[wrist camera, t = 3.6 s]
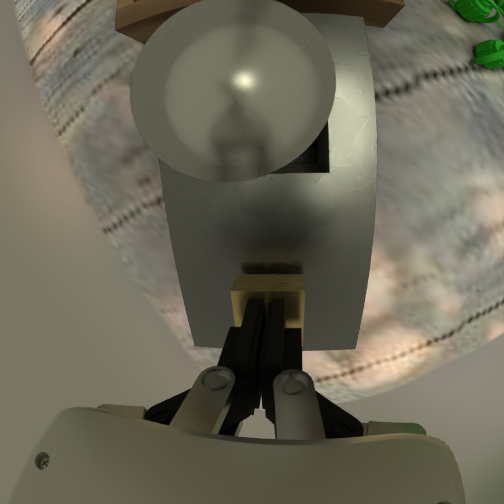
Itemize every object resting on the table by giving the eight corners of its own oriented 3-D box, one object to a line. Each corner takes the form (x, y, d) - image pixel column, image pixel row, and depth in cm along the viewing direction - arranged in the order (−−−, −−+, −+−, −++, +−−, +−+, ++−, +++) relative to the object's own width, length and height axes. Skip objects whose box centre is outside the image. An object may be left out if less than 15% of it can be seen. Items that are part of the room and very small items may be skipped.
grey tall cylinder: (234, 91, 14) (129, 21, 4) (300, 87, 14) (322, -10, 3) (239, 152, 16) (139, 190, 5) (304, 150, 16) (341, 179, 5)
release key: (250, 237, 18) (230, 290, 12) (300, 236, 17) (305, 291, 11) (254, 280, 19) (237, 344, 13) (300, 280, 18) (302, 346, 13)
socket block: (186, 58, 14) (151, 36, 9) (344, 47, 12) (363, 17, 8) (213, 302, 21) (194, 345, 16) (344, 303, 19) (355, 348, 15)
